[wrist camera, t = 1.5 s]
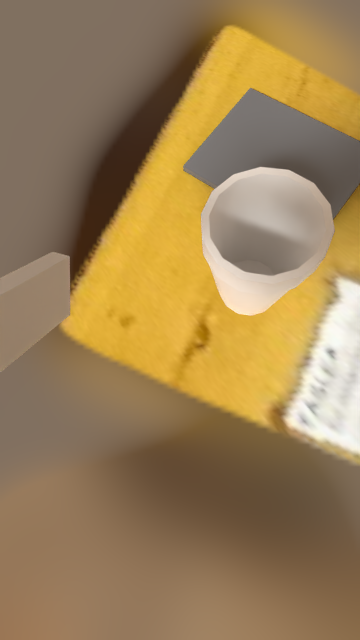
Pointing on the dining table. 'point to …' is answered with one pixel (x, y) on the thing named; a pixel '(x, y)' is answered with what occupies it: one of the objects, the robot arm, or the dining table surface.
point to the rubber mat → (279, 148)
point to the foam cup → (264, 236)
